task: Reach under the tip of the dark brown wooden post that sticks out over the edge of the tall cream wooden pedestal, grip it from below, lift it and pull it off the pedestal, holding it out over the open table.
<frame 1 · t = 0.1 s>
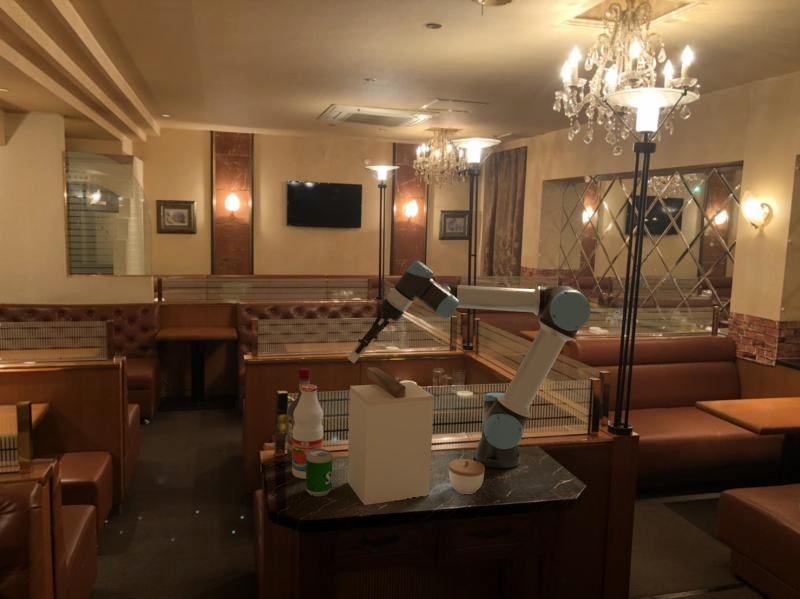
hand: (355, 356, 198), 36 cm above the countertop, tool tilted 35°, fingers open, 13 cm apart
lidded jar: (465, 491, 185), on the countertop
dark brown wooden post: (385, 386, 185), point 30 cm above the countertop, touching pedestal
fruit juice: (307, 473, 193), on the countertop
pedestal: (387, 488, 184), on the countertop
soda can: (318, 492, 180), on the countertop
liquor: (302, 456, 207), on the countertop
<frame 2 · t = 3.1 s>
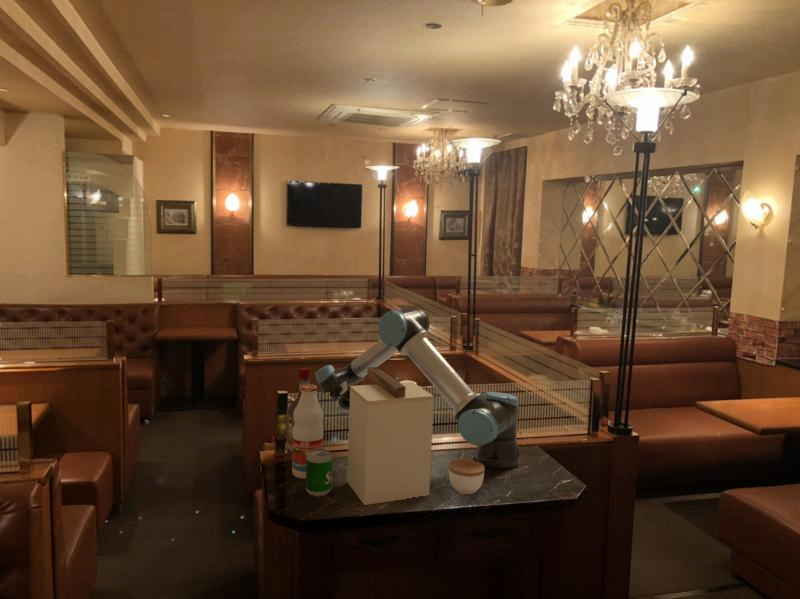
hand: (366, 384, 201), 26 cm above the countertop, tool pointing upward, fingers open, 13 cm apart
nothing on the countertop moved.
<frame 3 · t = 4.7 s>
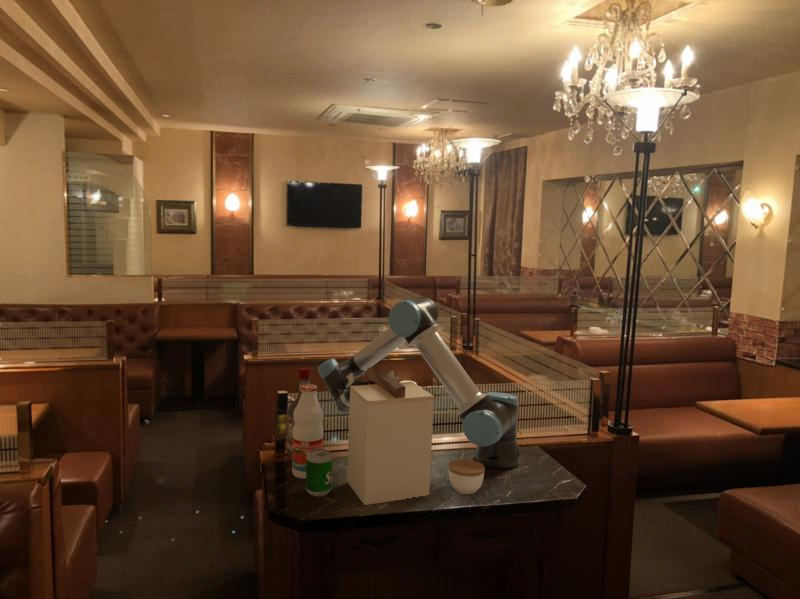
hand: (373, 376, 194), 31 cm above the countertop, tool pointing upward, fingers open, 13 cm apart
nothing on the countertop moved.
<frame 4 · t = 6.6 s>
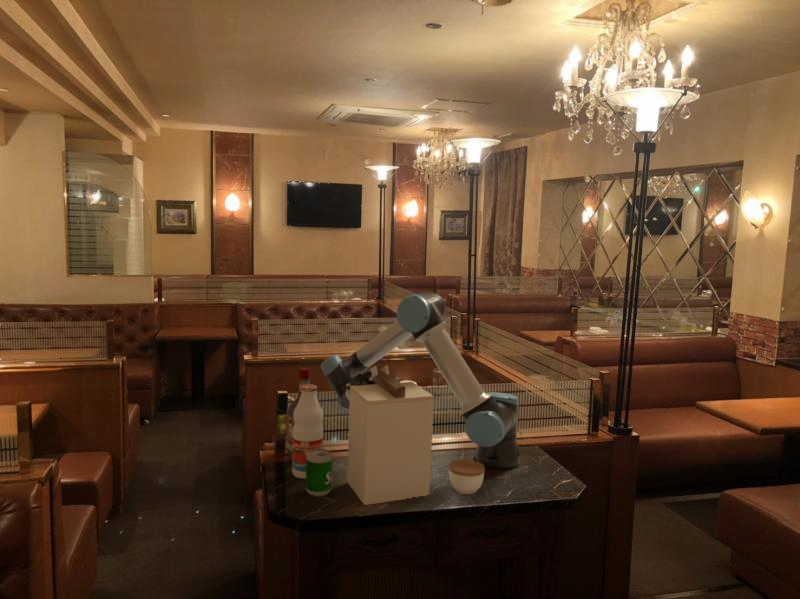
hand: (381, 370, 188), 34 cm above the countertop, tool pointing upward, fingers closed on dark brown wooden post, 3 cm apart
dark brown wooden post: (385, 386, 185), point 30 cm above the countertop, touching gripper, pedestal
everything else where it was.
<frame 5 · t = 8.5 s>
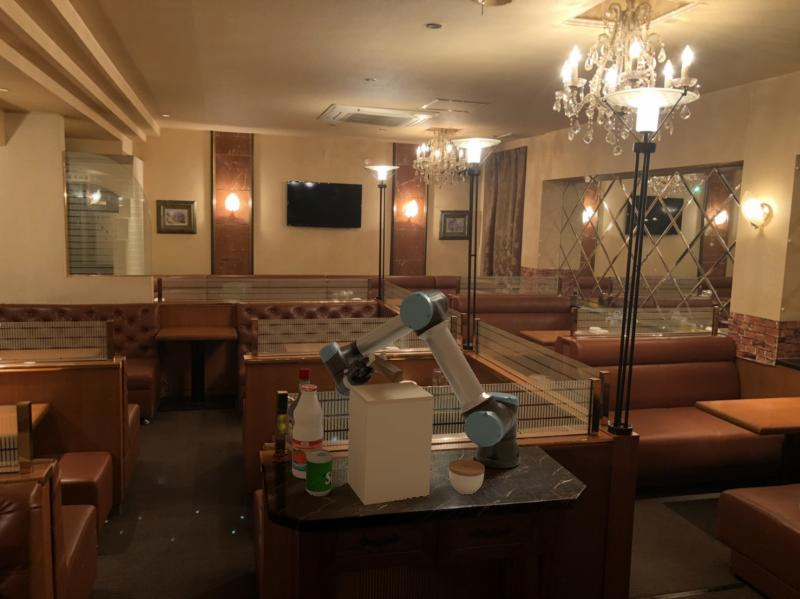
hand: (379, 355, 189), 38 cm above the countertop, tool pointing upward, fingers closed on dark brown wooden post, 3 cm apart
dark brown wooden post: (382, 371, 186), point 34 cm above the countertop, touching gripper
everything else where it was.
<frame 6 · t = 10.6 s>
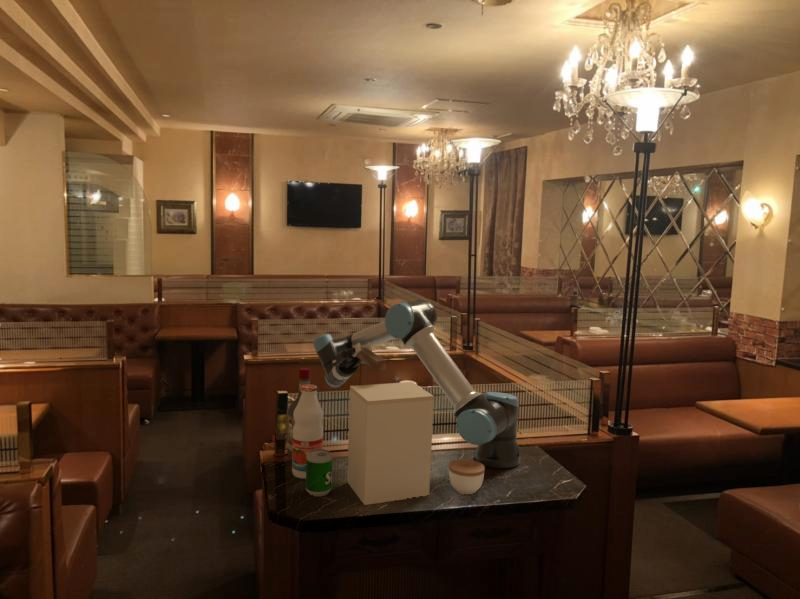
hand: (364, 346, 201), 38 cm above the countertop, tool pointing upward, fingers closed on dark brown wooden post, 3 cm apart
dark brown wooden post: (367, 361, 199), point 34 cm above the countertop, touching gripper
everything else where it was.
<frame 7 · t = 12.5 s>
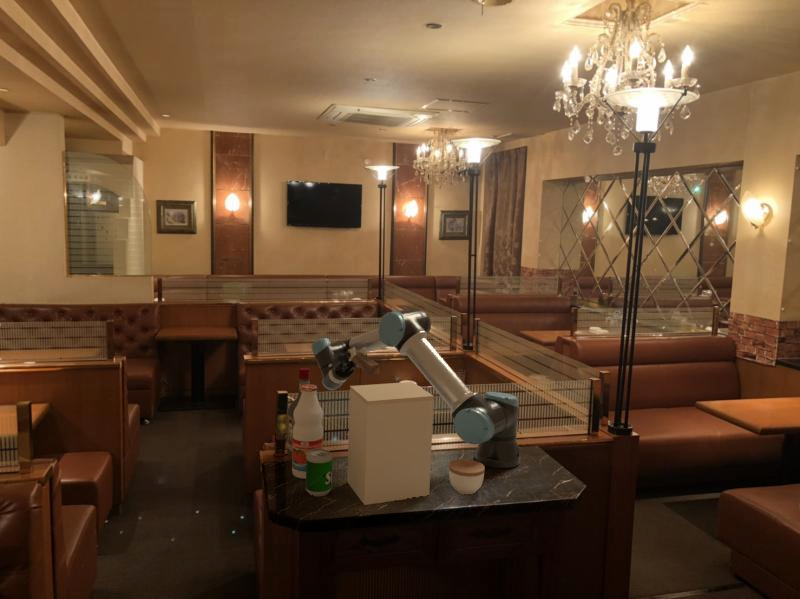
hand: (359, 351, 207), 36 cm above the countertop, tool pointing upward, fingers closed on dark brown wooden post, 3 cm apart
dark brown wooden post: (362, 365, 204), point 31 cm above the countertop, touching gripper
everything else where it was.
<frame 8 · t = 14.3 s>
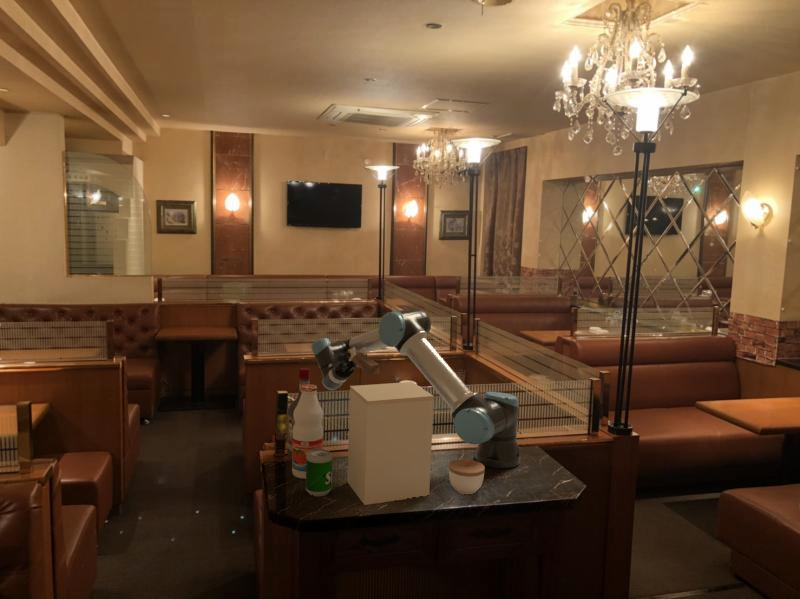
hand: (359, 351, 207), 36 cm above the countertop, tool pointing upward, fingers closed on dark brown wooden post, 3 cm apart
dark brown wooden post: (362, 365, 204), point 31 cm above the countertop, touching gripper
everything else where it was.
at the end: the gripper is holding dark brown wooden post; dark brown wooden post touching gripper; dark brown wooden post moved 21.1 cm from its start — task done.
